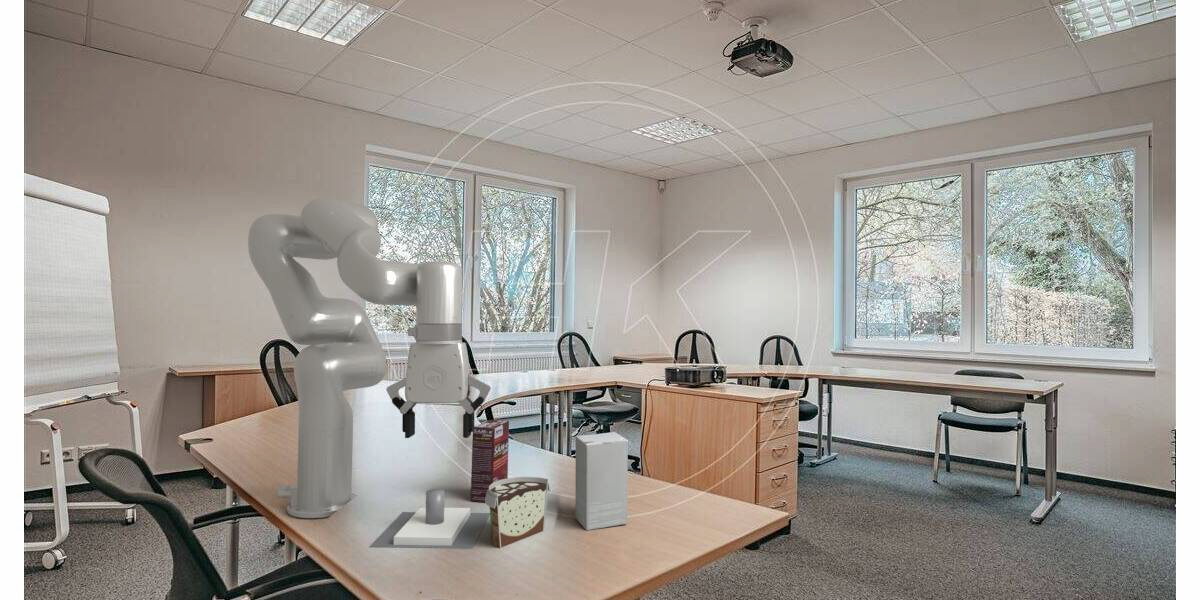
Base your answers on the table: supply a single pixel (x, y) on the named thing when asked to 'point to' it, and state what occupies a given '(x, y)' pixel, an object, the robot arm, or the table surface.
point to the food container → (516, 508)
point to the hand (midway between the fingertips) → (438, 436)
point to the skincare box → (601, 480)
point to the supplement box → (488, 457)
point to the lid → (433, 523)
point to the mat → (462, 541)
